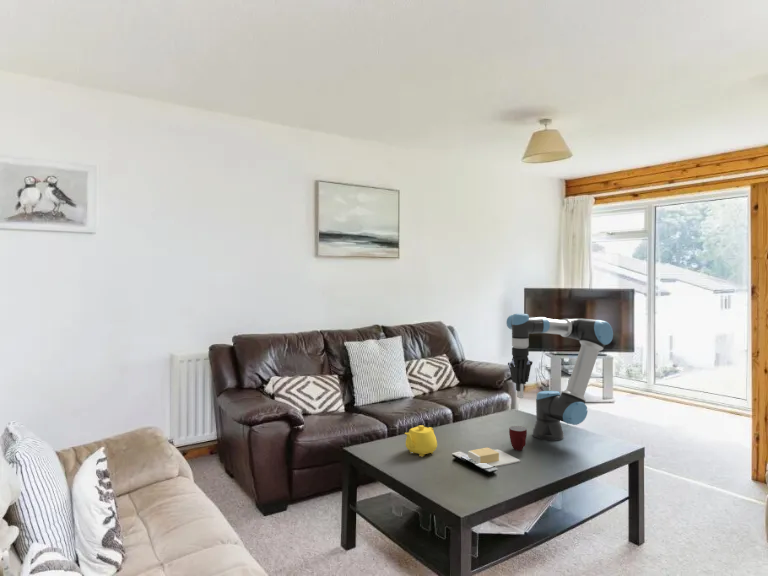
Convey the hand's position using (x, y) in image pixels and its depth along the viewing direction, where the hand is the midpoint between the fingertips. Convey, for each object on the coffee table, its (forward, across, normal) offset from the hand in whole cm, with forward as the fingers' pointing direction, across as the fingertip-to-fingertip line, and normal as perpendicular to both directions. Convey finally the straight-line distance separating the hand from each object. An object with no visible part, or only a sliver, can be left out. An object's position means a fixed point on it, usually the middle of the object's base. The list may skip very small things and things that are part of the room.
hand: (520, 397), depth 232 cm
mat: (+26, +17, 0) cm, 31 cm away
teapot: (+27, +42, -21) cm, 54 cm away
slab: (+24, +15, 0) cm, 28 cm away
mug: (+27, -3, -4) cm, 27 cm away
